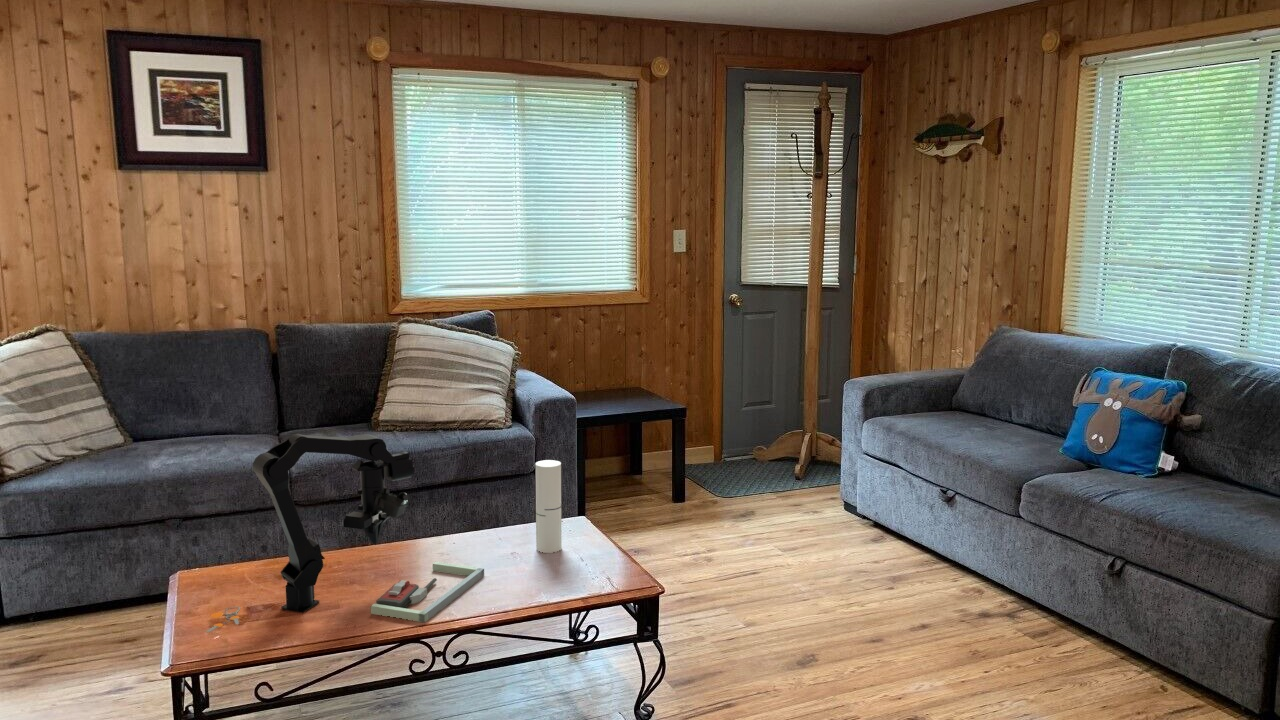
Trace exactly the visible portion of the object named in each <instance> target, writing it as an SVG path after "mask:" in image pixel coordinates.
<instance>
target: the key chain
mask: <svg viewBox="0 0 1280 720" xmlns="http://www.w3.org/2000/svg"><path fill="white" fill-rule="evenodd" d="M231 609H237V610H236V612H235V611H234V612H231V613H230V612H229V613H227V612H228V611H227V610H231ZM240 610H241V607H240V606H235V607H234V606H233V607H227V608H225V612H224V613H223V612H215V613H212V614H211V615H210V617H211V618H215V619H216V618H221V617H222V616H225V619H226V620H227V621H225V622H222V623H220V622H219V623H215V624H213V626H212V627H211V628H209V629H208V630H206V631H205V632H206V633H209V632H211V631H213V630H216V629H217V628H222V627H223V626H224V624H227V623H229V622H231V621H233V622H234V625H239V624H240V620H239V619H240V616H238V612H239V611H240Z"/></svg>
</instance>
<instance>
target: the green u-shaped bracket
mask: <svg viewBox="0 0 1280 720" xmlns="http://www.w3.org/2000/svg"><path fill="white" fill-rule="evenodd" d="M432 571H433V572H437V573H445V574H453V575H460V576H466V577H465V578H464V579H462V580H460V581H459V583H457V584H456V585H454V586H453V587H452V588H451V589H450V590H448V591H447V592H445V593H444V594H443V595H441V596H440V597H438V598H437V599H436V600H435V601H434V602H432V603H431V604H430V605H428V606H427V607H426V608H424V609H423V610H418V609H412V608H407V607H406V608H400V607H393V606H387V605H381V604H376V603H373V604H372V605H371V606H370V614H371V615H376V616H381V615H382V616H383V617H387V616H390V617H389V618H393V617H396V618H395V619H399V618H402V619H401V620H406V619H408V621H412V620H413V622H418V623H424V624H425V623H426V622H427V621H429V620H430V619H432V617H433V618H434V616H435V615H437V614H438V613H439V612H440V611H441V610H442V609H444V608H446V607H447V606H448V605H450V603H451V602H453V601H454V600H456V599H457V598H458V597H459V596H460V595H462V594H463V593H465V592H466V591H467V590H468V589H469V588H470V587H472V586H473V585H475V584H476V583H477V582H479V581H480V580H481V579H482V578H483V577H485V568H483V567H475V566H470V565H461V564H454V563H448V562H447V563H446V562H442V561H441V562H440V561H435V562H433V563H432Z"/></svg>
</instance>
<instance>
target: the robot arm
mask: <svg viewBox="0 0 1280 720" xmlns="http://www.w3.org/2000/svg"><path fill="white" fill-rule="evenodd" d="M306 453H312V454H329V455H330V454H333V455H334V454H335V455H350V456H353V457H356V458H361V459H365V460H367V461H363V460H361V459H357V460H356V462H355V463H354V464H352V465H351V469H352V470H355V472H359V473H360V488H359V489H357V495H360V496H361V504H359V505H357V507H358V510H359V511H352V512H350V513H348V514H346V515H345V516H344V517H343V518H342V527H343V528H347V529H348V528H350V529H356V530H363V531H364V532H365V533H366V535H367V537H368V539H369V540H370V542H371V543H372V545H377V544H379V542H380V538H381V533H382V529H383V526H384V524H385V522H386V521H387V520H388V519H389V518H393V519H396V518H398V517H399V516H401V515H403V514H404V512H405V509H406V508H407V507H409V504H410V503H409V495H408V493H406V492H404V491H402V492H400V493H398V494H395V493H394V494H391V493H390V489H389V487H388V486H385V479H387V480H388V481H389V482H394V481H400V480H404V479H405V480H406V479H410V478H412V477H413V476H414V474H415V466H414V463H413V459H412V458H411V457H410V455H411V454H410V453H409V452H408V451H401V452H398V453H393V454H391V453H390V451H389V450H388V449H387V445H386V442H385V441H384V440H383V439H382V438H379V437H378V436H375V435H373V434H370V433H365V434H364V433H363V434H355V435H352V436H348V437H347V436H346V437H342V436H341V437H339V436H325V435H312V434H311V435H309V434H307V435H306V434H301V433H294V434H291V436H289V437H287V439H285V440H284V441H282V442H279V443H278V444H276V445H274V446H273V447H271V448H270V449H269V450H267V451H266V452H263V453H260V454H259V455H257V456H256V458H255V459H253V462H252V470H253V472H254V473H255V475H256V477H257V478H258V480H259V481H260V483H261V484H262V485H263V487H264V488H265V490H267V492H268V493H269V496H270V498H271V501H272V503H273V506H274V508H275V511H276V514H277V517H278V519H279V522H280V524H281V527H282V530H283V532H284V534H285V537H286V539H287V542H288V547H287V548H288V549H287V554H288V562H287V563H286V565H284V567H283V568H282V570H281V571H280V575H281V577H282V579H283V580H284V581H286V585H285V601H286V603H285V604H284V605H282V606H281V607H280V608H281V610H284V611H289V612H297V613H301V614H303V613H306V612H307V611H309V610H311V609H312V608H314V607H315V606H316V605H318V604H320V600H318V599H315V586H316V584H317V582H318V578H319V576H320V575H319V574H320V573H321V572H322V570H323V568H324V560H325V557H324V555H323V554H322V551H321V550H322V549H321V546H320V543H318V542H316V541H315V540H313V539H311V538H310V537H308V535H307V533H306V531H305V528H304V526H303V523H302V520H301V518H300V515H299V513H298V510H297V507H296V505H295V502H294V499H293V497H292V494H291V491H290V488H289V487H290V484H289V483H290V475H289V471H290V470H291V469H292V468H294V466H295V465H296V464H297V463H298V461H299V460H300V459H301V457H302V456H303V455H304V454H306ZM360 511H362V512H360Z"/></svg>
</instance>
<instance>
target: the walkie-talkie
mask: <svg viewBox="0 0 1280 720" xmlns="http://www.w3.org/2000/svg"><path fill="white" fill-rule="evenodd" d="M436 581H438V580H437V578H436V577H433V578H432V579H431V580H430V582H429V583H427V585H425V586H424V587H420V586H419V585H418V584H415V583H410V581H409V580H403V579H402V580H399V581H397V582H396V583H394V584H392V585H391V587H390V588H389V589H387V590H386V591H385V592H384V594H382V595H381V596H380V597H379V598H377V600H375V601H376V603H375V604H381V605H387V606H393V607H400V608H406V609H407V607H408V606H409V605H414V604H415V605H416V604H418V603H420V602H421V601H422V600H424V598H426V597H427V596H428V591H429V589H430V588H432V586H433V585H434V584H435V583H436Z"/></svg>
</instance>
